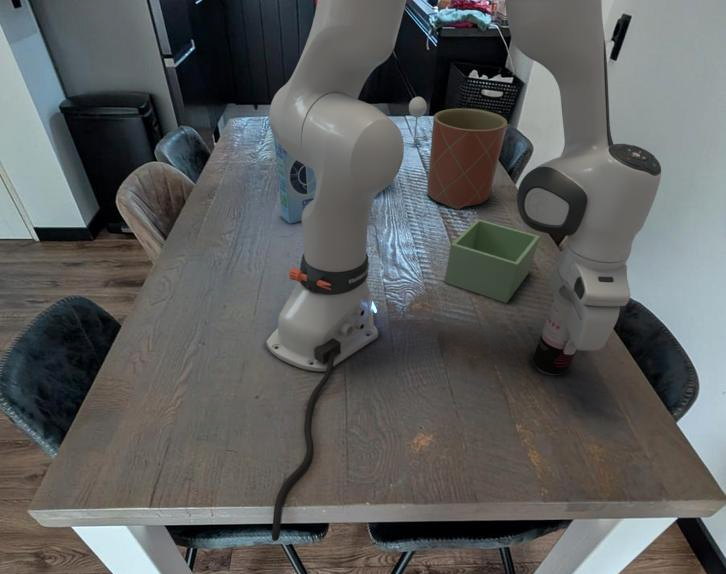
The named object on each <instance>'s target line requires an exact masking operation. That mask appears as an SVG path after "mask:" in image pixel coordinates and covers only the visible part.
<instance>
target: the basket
mask: <svg viewBox="0 0 726 574" xmlns="http://www.w3.org/2000/svg"><path fill="white" fill-rule="evenodd" d="M540 238H541V236H540V235H537V234H534V233H530V232H526V231H523V230H520V229H517V228H512V227H509V226H505V225H501V224H498V223H493V222H490V221H486V220H483V219H480V218H477V219H476V220H475V221H474V222H473V223H472V224H471V225H469V227H468V228H467V229H465V230H464V231H463V232H462V233H461V234H460V235H459V236H458V237H457V238H456V239H455V240H454V241H453V242H452V243H451V244H450V246H449V247H450V248H449V255H448V258H447V259H448V260H447V265H446V271H445V278H444V283H446V284H449V285H451V286H455V287H458V288H461V289H464V290H467V291H470V292H472V293H475V294H478V295H481V296H484V297H487V298H490V299H493V300H496V301H499V302H502V303H505V304H506V303H508V302H509V301H510V299H511V298H512V297H513V295H514V294H515V293H516V291H517V290H518V289H519V287H520V286H521V285H522V283H523V282H524V280H525V279H526V278H527V276H528V275H529V273H530V270H531V267H532V264H533V262H534V261H533V260H534V257H535V255H536V251H537V248H538V245H539V241H540Z"/></svg>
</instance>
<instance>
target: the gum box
mask: <svg viewBox="0 0 726 574" xmlns="http://www.w3.org/2000/svg"><path fill="white" fill-rule="evenodd" d="M273 142H274V152H275V153H274V154H275V162H276V171H277V181H278V190H279V201H280V212H281V218H282V219H283V220H285V221H286V222H287V223H288V224H289V225H291V224H295V223H298V222H302V219H301V218H302V212H303V210H304V208H305V207H306V205H307V204H309V203H310V202H311V201H312V200H314V196H315V191H316V177H315V174H314V171H313V170H312V169H311V168H309V167H307V166H305V165H304V164H302V163H300V162H299V161H297V160H295V159H293V158H292V157H291V156H290V155H289V154H288V153H287V152H286V151H285V150H284V149H283V148H282V146H281V145H280V144H279V143H278V141H277V140H276V139H275V137H274V136H273Z"/></svg>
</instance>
